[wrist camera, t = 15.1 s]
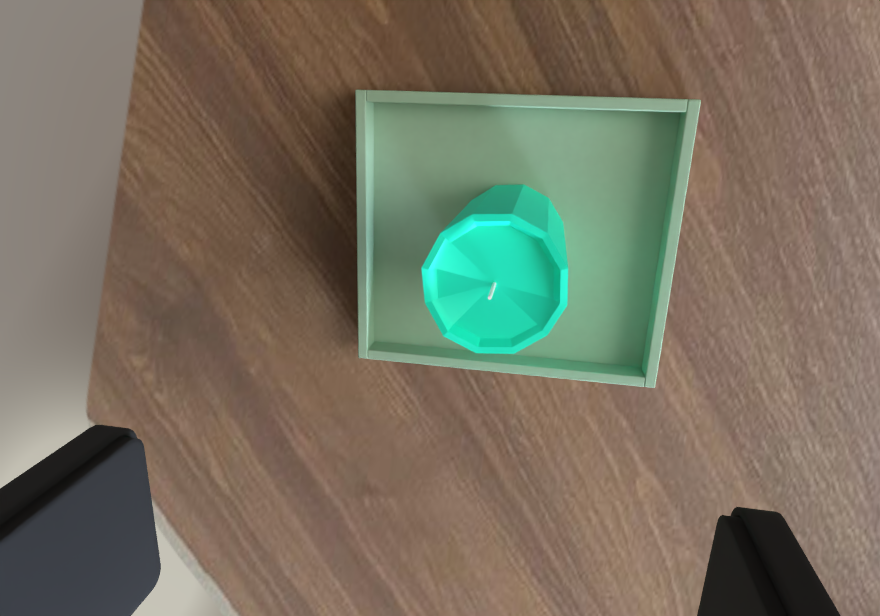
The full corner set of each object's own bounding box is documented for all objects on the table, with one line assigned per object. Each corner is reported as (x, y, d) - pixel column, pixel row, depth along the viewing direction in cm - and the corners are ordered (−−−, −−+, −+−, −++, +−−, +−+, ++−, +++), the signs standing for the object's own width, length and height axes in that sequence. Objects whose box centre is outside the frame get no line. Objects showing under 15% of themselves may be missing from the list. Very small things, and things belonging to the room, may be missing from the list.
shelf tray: (367, 345, 38) (357, 357, 36) (366, 91, 33) (355, 89, 31) (649, 373, 35) (655, 388, 33) (691, 100, 30) (701, 99, 28)
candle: (549, 169, 32) (547, 197, 21) (576, 273, 33) (589, 352, 22) (444, 200, 34) (390, 243, 22) (474, 299, 35) (438, 385, 24)
